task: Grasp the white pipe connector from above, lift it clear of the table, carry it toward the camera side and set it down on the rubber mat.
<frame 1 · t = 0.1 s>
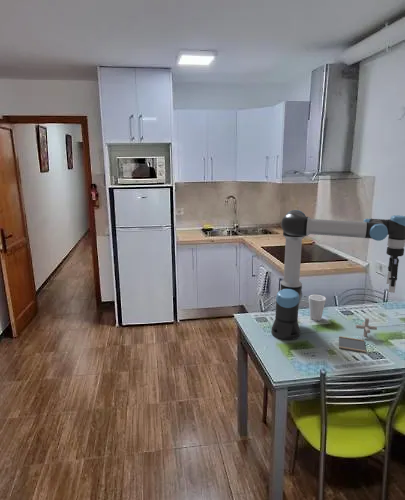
hand: (390, 287, 179), 28 cm above the table, fingers open, 13 cm apart
mat: (351, 345, 178), on the table
foam cup: (315, 318, 209), on the table
pipe connector: (365, 336, 188), on the table
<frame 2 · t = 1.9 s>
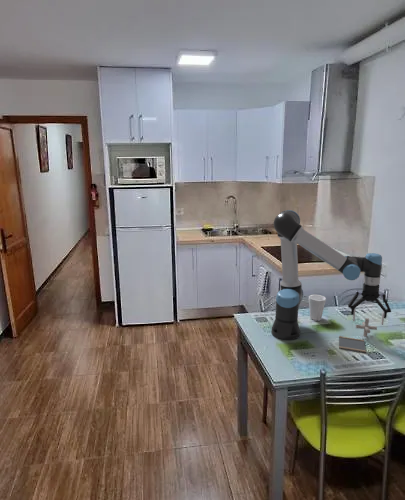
hand: (367, 322, 185), 8 cm above the table, fingers open, 13 cm apart
nothing on the table moved.
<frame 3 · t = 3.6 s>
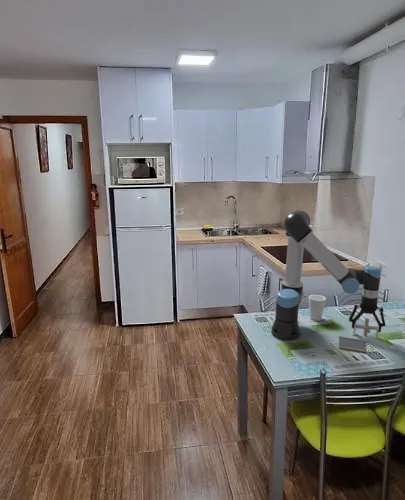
hand: (365, 335, 187), 0 cm above the table, fingers closed on pipe connector, 10 cm apart
pipe connector: (365, 336, 188), on the table, touching gripper
everything else where it was.
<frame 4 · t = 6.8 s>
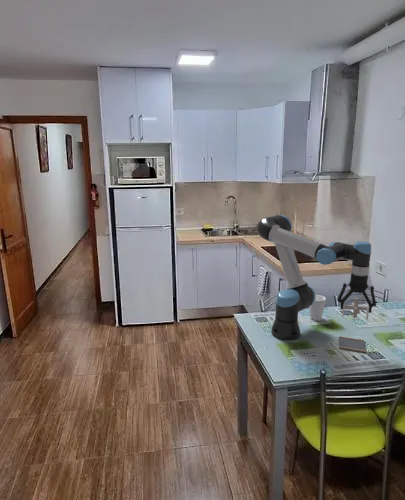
hand: (354, 316, 174), 15 cm above the table, fingers closed on pipe connector, 10 cm apart
pipe connector: (354, 317, 175), point 15 cm above the table, touching gripper
everything else where it was.
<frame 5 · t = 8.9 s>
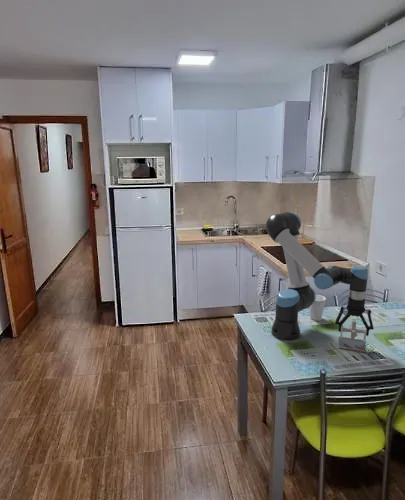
hand: (352, 339, 177), 3 cm above the table, fingers closed on pipe connector, 10 cm apart
pipe connector: (352, 340, 177), point 3 cm above the table, touching gripper
everything else where it was.
when the fingers open (3 cm above the table, at t = 10.0 s): pipe connector drops 2 cm, resting on mat.
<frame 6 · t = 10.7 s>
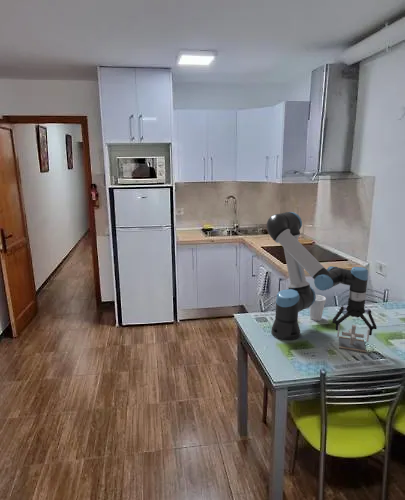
hand: (352, 338, 177), 4 cm above the table, fingers open, 13 cm apart
pipe connector: (351, 344, 178), resting on mat
everything else where it was.
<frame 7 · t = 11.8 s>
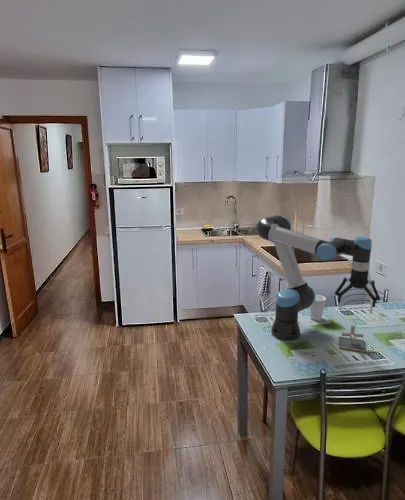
hand: (355, 310, 174), 19 cm above the table, fingers open, 13 cm apart
nothing on the table moved.
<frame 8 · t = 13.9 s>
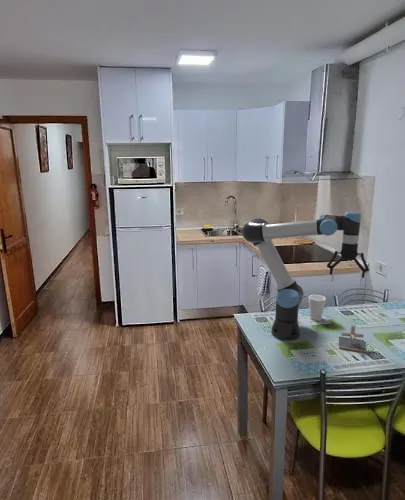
hand: (346, 282, 185), 29 cm above the table, fingers open, 13 cm apart
nothing on the table moved.
at the end: pipe connector 0.2 cm from the mat (horizontally); pipe connector resting on mat; pipe connector touching mat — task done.
